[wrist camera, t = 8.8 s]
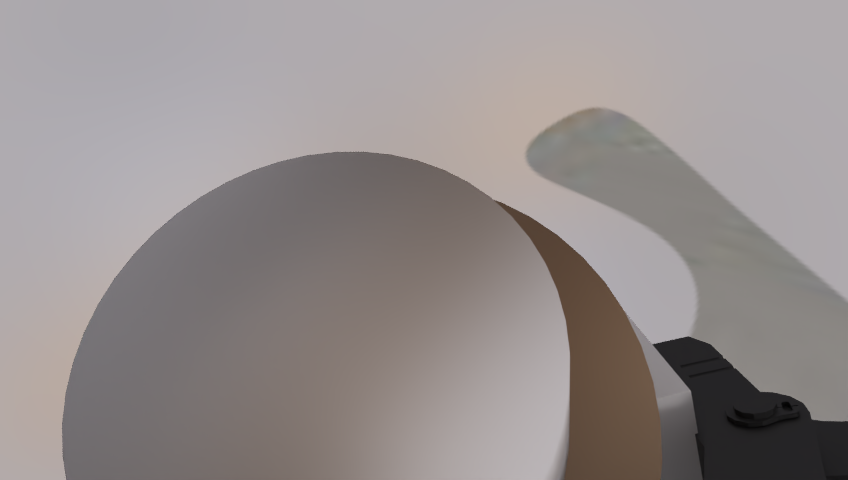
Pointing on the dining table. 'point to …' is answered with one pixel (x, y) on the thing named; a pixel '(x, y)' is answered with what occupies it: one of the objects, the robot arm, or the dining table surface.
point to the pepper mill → (358, 341)
